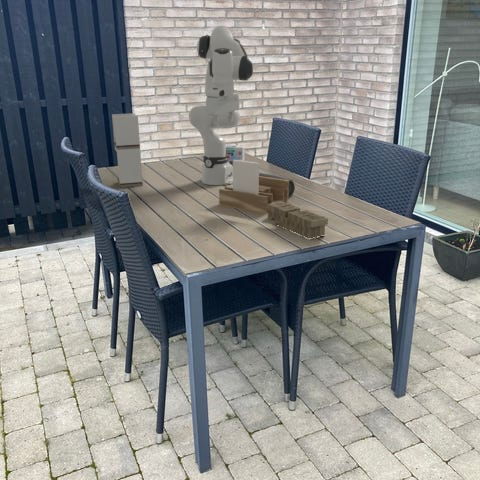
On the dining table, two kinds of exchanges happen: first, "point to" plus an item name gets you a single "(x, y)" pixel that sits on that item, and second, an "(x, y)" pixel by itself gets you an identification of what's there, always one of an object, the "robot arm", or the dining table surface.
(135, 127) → the grey stacked pillar
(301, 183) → the dining table surface
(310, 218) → the block tower
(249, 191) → the white rectangular panel
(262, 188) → the offcut top
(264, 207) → the rack
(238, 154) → the light bulb box
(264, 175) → the bluetooth speaker
